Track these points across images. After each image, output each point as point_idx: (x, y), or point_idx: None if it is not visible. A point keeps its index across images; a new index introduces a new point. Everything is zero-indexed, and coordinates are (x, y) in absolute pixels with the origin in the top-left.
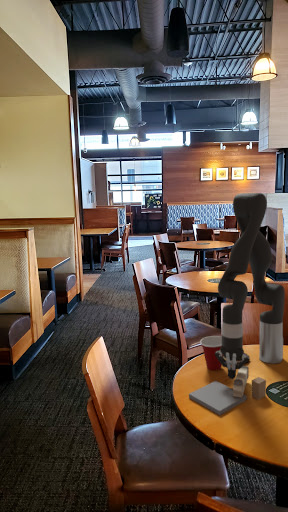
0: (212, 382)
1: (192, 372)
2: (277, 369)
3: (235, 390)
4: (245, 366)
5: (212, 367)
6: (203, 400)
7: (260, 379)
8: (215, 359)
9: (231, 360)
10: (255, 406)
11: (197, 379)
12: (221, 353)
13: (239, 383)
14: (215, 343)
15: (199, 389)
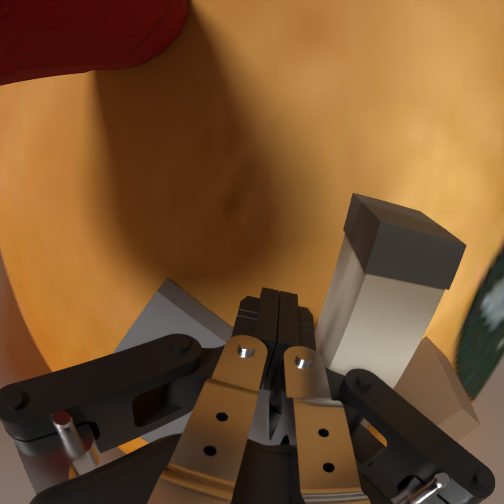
0: (142, 312)
1: (25, 142)
2: None
3: None
4: (437, 243)
5: (110, 69)
6: (150, 439)
7: (454, 430)
8: (83, 65)
9: (256, 397)
10: (369, 429)
11: (60, 225)
12: (78, 464)
13: None
14: None
15: None
